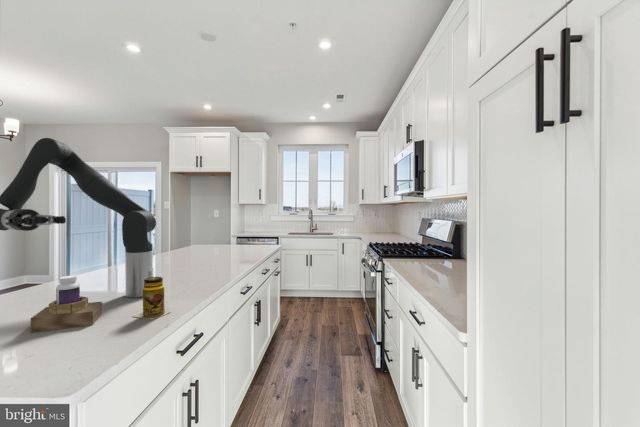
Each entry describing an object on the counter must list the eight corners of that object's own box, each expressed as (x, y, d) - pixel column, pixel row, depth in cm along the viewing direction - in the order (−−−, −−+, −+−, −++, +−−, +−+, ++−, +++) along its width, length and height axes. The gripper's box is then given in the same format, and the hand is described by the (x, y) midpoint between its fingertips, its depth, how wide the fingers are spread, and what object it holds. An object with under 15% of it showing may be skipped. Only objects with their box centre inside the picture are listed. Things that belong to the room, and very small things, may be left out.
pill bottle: (84, 307, 91) (84, 275, 91) (64, 313, 86) (63, 279, 86) (72, 305, 93) (72, 274, 93) (52, 311, 88) (51, 278, 88)
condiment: (153, 320, 92) (152, 281, 92) (132, 317, 95) (131, 279, 95) (171, 312, 99) (171, 276, 99) (151, 309, 102) (151, 274, 101)
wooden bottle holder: (101, 313, 97) (101, 293, 97) (92, 324, 88) (92, 302, 88) (46, 319, 92) (46, 298, 92) (30, 332, 83) (30, 309, 82)
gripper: (-7, 209, 99) (21, 209, 93) (45, 209, 112) (73, 209, 106) (-7, 231, 99) (21, 233, 93) (46, 229, 112) (73, 230, 106)
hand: (49, 220), depth 100 cm, fingers open, 8 cm apart
